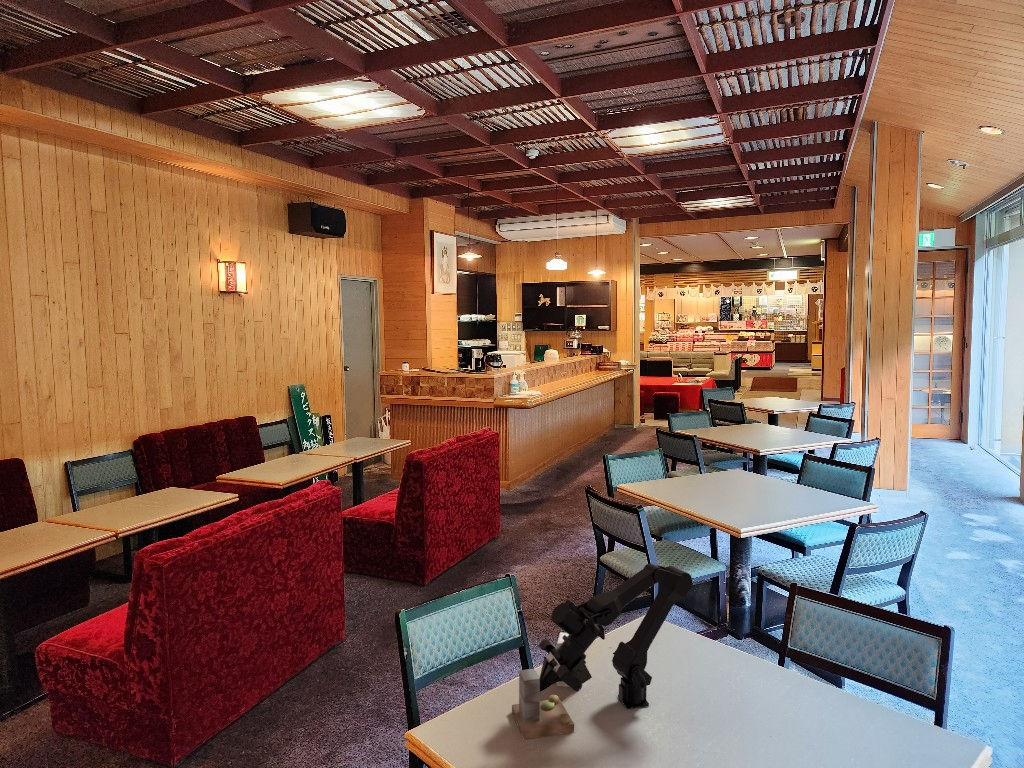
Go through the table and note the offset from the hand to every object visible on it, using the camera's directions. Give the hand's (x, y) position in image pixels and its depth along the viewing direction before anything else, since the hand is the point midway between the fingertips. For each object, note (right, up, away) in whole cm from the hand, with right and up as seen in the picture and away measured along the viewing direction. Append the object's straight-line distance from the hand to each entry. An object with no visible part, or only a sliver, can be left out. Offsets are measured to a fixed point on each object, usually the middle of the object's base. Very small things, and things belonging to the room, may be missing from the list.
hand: (538, 690), depth 168 cm
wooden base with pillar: (+1, -9, +1) cm, 9 cm away
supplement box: (+10, -7, +21) cm, 24 cm away
